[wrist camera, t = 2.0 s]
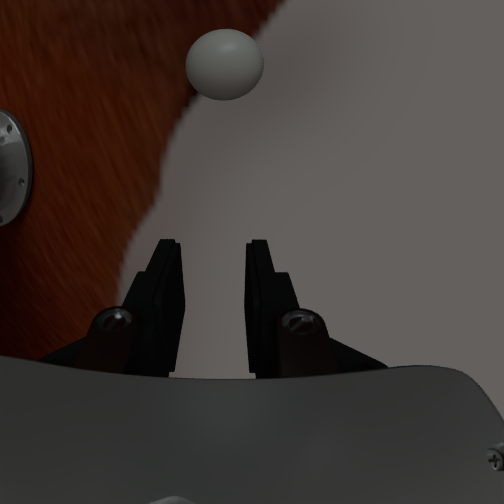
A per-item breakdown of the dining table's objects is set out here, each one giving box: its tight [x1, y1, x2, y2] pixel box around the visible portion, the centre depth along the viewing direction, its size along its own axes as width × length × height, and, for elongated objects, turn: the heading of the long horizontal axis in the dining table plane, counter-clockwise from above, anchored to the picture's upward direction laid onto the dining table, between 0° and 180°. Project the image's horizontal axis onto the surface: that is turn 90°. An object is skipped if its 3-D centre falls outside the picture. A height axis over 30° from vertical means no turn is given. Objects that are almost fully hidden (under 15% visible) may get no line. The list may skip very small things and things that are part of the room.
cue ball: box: [186, 29, 264, 100], centre depth 18 cm, size 6×6×6 cm
